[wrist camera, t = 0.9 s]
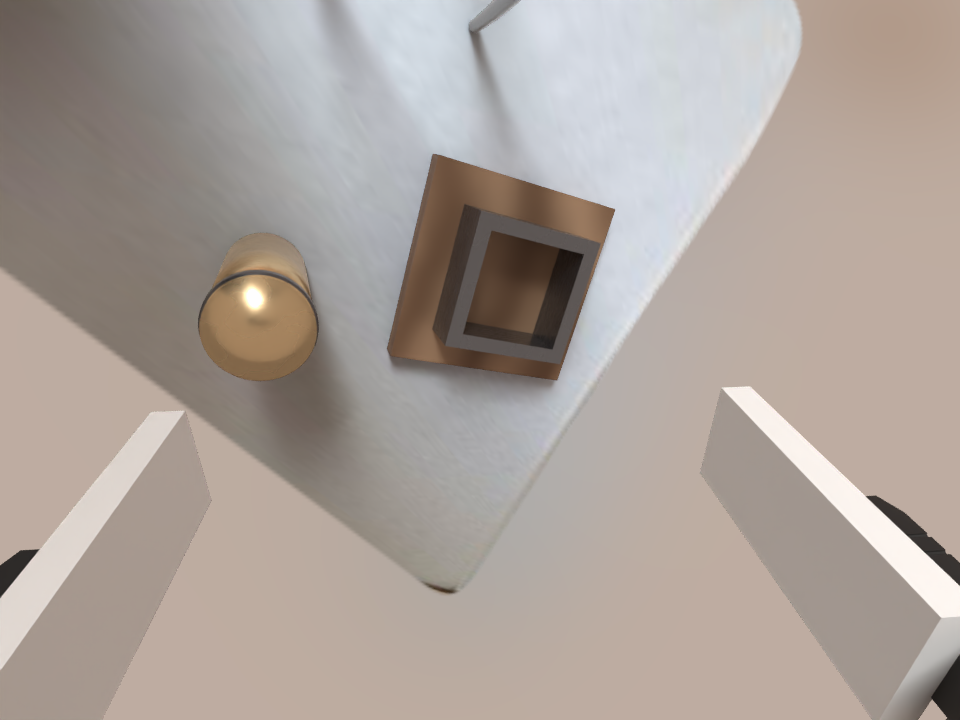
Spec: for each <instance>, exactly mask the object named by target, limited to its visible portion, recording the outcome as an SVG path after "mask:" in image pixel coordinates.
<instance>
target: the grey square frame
mask: <svg viewBox="0 0 960 720" xmlns="http://www.w3.org/2000/svg"><path fill="white" fill-rule="evenodd" d="M491 231H496V232H500V233H504V234H507V235H511V236H515V237H519V238H523V239H527V240H530V241H534V242H538V243H542V244H546V245H550V246H553V247H557V248H560V249H559V252H558V255H557V258H556V262H555V265H554V268H553V271H552V274H551V277H550V281H549V284H548V287H547V290H546V293H545V296H544V299H543V303H542V306H541V309H540V312H539V315H538V318H537V322H536V325H535V328H534V331H533V334H532V333H526V332H521V331H515V330H510V329H504V328H499V327H493V326H488V325H482V324H477V323H471V322H466V321H467V317H468V314H469V310H470V306H471V303H472V299H473V296H474V292H475V288H476V285H477V281H478V278H479V274H480V270H481V267H482V263H483V260H484V256H485V252H486V249H487V245H488V241H489V238H490V234H491ZM600 245H601V243H599V242H596V241H593V240H590V239H587V238H584V237H581V236H579V235H575V234H572V233H568V232H565V231H561V230H557V229H554V228H550V227H546V226H543V225H539V224H536V223H532V222H528V221H525V220H521V219H517V218H514V217H510V216H507V215H503V214H499V213H496V212H492V211H489V210H485V209H481V208H478V207H474V206H470V205H467V204H464V208H463V211H462V215H461V219H460V223H459V227H458V231H457V235H456V238H455V242H454V246H453V250H452V254H451V258H450V262H449V266H448V269H447V273H446V277H445V281H444V285H443V289H442V293H441V297H440V300H439V304H438V308H437V312H436V316H435V320H434V324H433V328H432V330H433V331H434V332H435V333H436V335H437V336H438V337H439V339H440V340H441V341H442V343H443V344H444V345H445V346H449V347H455V348H461V349H468V350H474V351H480V352H486V353H493V354H499V355H505V356H511V357H518V358H524V359H530V360H536V361H543V362H549V363H555V364H560V363H561V360H562V357H563V354H564V351H565V348H566V345H567V342H568V339H569V336H570V334H571V331H572V328H573V325H574V322H575V319H576V316H577V313H578V310H579V307H580V304H581V301H582V298H583V295H584V292H585V289H586V286H587V283H588V280H589V277H590V275H591V272H592V269H593V266H594V263H595V260H596V257H597V254H598V251H599V248H600Z"/></svg>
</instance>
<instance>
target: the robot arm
mask: <svg viewBox="0 0 960 720" xmlns="http://www.w3.org/2000/svg"><path fill="white" fill-rule="evenodd" d="M700 474H701V475H702V477H703V478H704V479H705V481H706V482H707V484H708V485H709V487H710V488H711V489H712V491H713V492H714V494H715V495H716V496H717V498H718V499H719V501H720V502H721V504H722V505H723V507H724V508H725V509H726V511H727V512H728V514H729V515H730V516H731V518H732V520H733V521H734V522H735V524H736V525H737V527H738V528H739V529H740V531H741V532H742V534H743V535H744V537H745V538H746V540H747V541H748V542H749V544H750V545H751V547H752V548H753V550H754V551H755V552H756V554H757V555H758V557H759V558H760V560H761V561H762V563H763V564H764V565H765V567H766V568H767V569H768V571H769V573H770V574H771V575H772V577H773V578H774V580H775V581H776V583H777V584H778V585H779V587H780V588H781V590H782V591H783V593H784V594H785V595H786V597H787V598H788V600H789V601H790V603H791V604H792V605H793V607H794V608H795V610H796V611H797V613H798V614H799V616H800V617H801V618H802V620H803V621H804V623H805V624H806V626H807V627H808V628H809V630H810V631H811V633H812V634H813V636H814V637H815V638H816V640H817V641H818V643H819V644H820V646H821V647H822V649H823V650H824V651H825V653H826V654H827V656H828V657H829V659H830V660H831V661H832V663H833V664H834V666H835V667H836V669H837V670H838V671H839V673H840V674H841V676H842V677H843V679H844V680H845V682H846V683H847V684H848V686H849V687H850V689H851V690H852V692H853V693H854V694H855V696H856V697H857V699H858V700H859V702H860V703H861V704H862V706H863V707H864V708H865V710H866V712H867V713H868V714H869V716H870V717H871V719H872V720H918V719H919V718H920V716H921V715H922V713H923V712H924V710H925V709H926V707H927V706H928V704H929V702H930V701H931V700H932V699H933V701H934V702H935V703H936V704H937V705H938V707H939V708H940V709H941V710H942V712H943V713H944V714H945V715H946V717H947V719H946V720H960V563H959V562H958V561H957V560H956V559H955V558H954V557H953V556H952V555H950V554H946V552H945V549H944V548H943V547H942V546H941V545H939V543H937V542H936V541H935V540H934V539H933V538H932V537H928V536H927V533H926V532H925V531H924V530H923V529H922V528H921V527H920V526H918V525H917V524H916V523H915V522H914V521H913V520H912V519H911V518H910V517H909V516H908V515H907V514H905V513H904V512H903V511H901V510H899V509H897V508H895V507H894V506H892V505H891V504H889V503H887V502H886V501H884V500H882V499H881V498H879V497H877V496H864V495H863V494H862V493H861V492H860V491H859V490H858V489H857V488H856V487H855V486H854V485H853V484H852V483H851V482H850V481H849V480H848V479H847V478H846V477H845V476H843V475H842V474H841V473H840V472H839V471H838V470H837V469H836V468H835V467H834V466H833V465H832V464H831V463H830V462H829V461H828V460H827V459H826V458H825V457H823V456H822V455H821V454H820V453H819V452H818V451H817V450H816V449H815V448H814V447H813V446H812V445H811V444H810V443H809V442H808V441H807V440H805V438H803V437H802V436H801V435H800V434H799V433H798V432H797V431H796V430H795V429H794V428H793V427H792V426H791V425H790V424H789V423H787V421H786V420H785V419H783V418H782V417H781V416H780V415H779V414H778V413H777V412H776V411H775V410H774V409H773V408H772V407H771V406H770V405H769V404H768V403H767V402H765V400H763V399H762V398H761V397H760V396H759V395H758V394H757V393H756V392H755V391H754V390H753V389H752V388H751V387H728V388H721V391H720V395H719V399H718V403H717V407H716V411H715V415H714V419H713V423H712V427H711V431H710V435H709V439H708V443H707V447H706V451H705V455H704V459H703V463H702V467H701V471H700ZM211 501H212V500H211V497H210V494H209V490H208V487H207V484H206V480H205V476H204V473H203V470H202V466H201V463H200V459H199V456H198V452H197V449H196V446H195V442H194V439H193V435H192V432H191V428H190V425H189V422H188V418H187V415H186V411H164V412H151V413H150V414H149V415H148V417H147V418H146V419H145V420H144V421H143V423H142V424H141V425H140V426H139V428H138V429H137V430H136V431H135V432H134V434H133V435H132V436H131V437H130V439H129V440H128V441H127V442H126V444H125V445H124V446H123V447H122V449H121V450H120V451H119V452H118V453H117V455H116V456H115V457H114V458H113V460H112V461H111V462H110V464H109V465H108V466H107V467H106V468H105V470H104V471H103V472H102V473H101V475H100V476H99V477H98V478H97V479H96V481H95V482H94V483H93V485H92V486H91V487H90V488H89V489H88V491H87V492H86V493H85V494H84V496H83V497H82V498H81V499H80V500H79V502H78V503H77V504H76V505H75V507H74V508H73V509H72V510H71V511H70V513H69V514H68V515H67V517H66V518H65V519H64V520H63V521H62V523H61V524H60V525H59V526H58V528H57V529H56V530H55V531H54V533H53V534H52V535H51V536H50V537H49V539H48V540H47V541H46V542H45V544H44V545H43V546H42V547H41V549H38V550H23V551H22V550H21V551H19V552H18V553H16V554H15V555H14V556H12V557H11V558H10V559H8V560H7V561H6V562H4V563H3V564H2V565H0V720H102V719H103V717H104V715H105V713H106V711H107V709H108V707H109V705H110V703H111V701H112V699H113V697H114V695H115V693H116V691H117V689H118V687H119V685H120V683H121V681H122V679H123V677H124V675H125V673H126V671H127V669H128V667H129V665H130V663H131V661H132V659H133V657H134V655H135V653H136V651H137V649H138V647H139V645H140V643H141V641H142V639H143V637H144V635H145V633H146V631H147V629H148V627H149V625H150V623H151V621H152V619H153V617H154V615H155V613H156V611H157V609H158V607H159V605H160V603H161V601H162V599H163V597H164V595H165V593H166V591H167V589H168V587H169V585H170V583H171V581H172V579H173V577H174V575H175V573H176V571H177V569H178V567H179V565H180V563H181V561H182V559H183V557H184V555H185V553H186V551H187V549H188V547H189V545H190V543H191V541H192V539H193V537H194V535H195V533H196V531H197V529H198V527H199V525H200V523H201V521H202V519H203V517H204V514H205V513H206V511H207V509H208V507H209V505H210V503H211Z"/></svg>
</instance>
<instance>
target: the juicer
mask: <svg viewBox="0 0 960 720" xmlns="http://www.w3.org/2000/svg"><path fill="white" fill-rule="evenodd" d="M520 1H521V0H493V1H492V2H491V3H490V4H489V5H488V6H487V7H486V8H485V9H484V10H483V11H481V12H480V13H479V14H478V15H477V16H476V17H475V18H474V19H472V20H471V21H470V23H469V29H470V31H471V32H473V33H477V32H479V31H481V30H482V29H484V28H486V27H487V26H489V25H490V24H492V23H493V22H495V21H496V20H497V19H499V18H500V17H501V16H503V15H504V14H505V13H507V12H508V11H509V10H510V9H512V8H513V7H514V6H515V5H516V4H518V3H519V2H520Z"/></svg>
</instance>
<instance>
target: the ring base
mask: <svg viewBox="0 0 960 720" xmlns="http://www.w3.org/2000/svg"><path fill="white" fill-rule="evenodd" d="M464 204H467V205H470V206H474V207H478V208H481V209H485V210H489V211H492V212H496V213H499V214H503V215H507V216H510V217H514V218H517V219H521V220H525V221H528V222H532V223H536V224H539V225H543V226H546V227H550V228H554V229H557V230H561V231H565V232H568V233H572V234H575V235H579V236H581V237H584V238H587V239H590V240H593V241H596V242H599V243H601V245H600V248H599V251H598V254H597V257H596V260H595V263H594V266H593V269H592V272H591V275H590V277H589V280H588V283H587V286H586V289H585V292H584V295H583V298H582V301H581V304H580V307H579V310H578V313H577V316H576V319H575V322H574V325H573V328H572V331H571V334H570V336H569V339H568V342H567V345H566V348H565V351H564V354H563V357H562V360H561V363H560V364H555V363H549V362H543V361H536V360H530V359H524V358H518V357H511V356H505V355H499V354H493V353H486V352H480V351H474V350H468V349H461V348H455V347H449V346H445V345H444V344H443V343H442V341H441V340H440V339H439V337H438V336H437V335H436V333H435V332H434V331H433V330H432V328H433V324H434V320H435V316H436V312H437V308H438V304H439V300H440V297H441V293H442V289H443V285H444V281H445V277H446V273H447V269H448V266H449V262H450V258H451V254H452V250H453V246H454V242H455V238H456V235H457V231H458V227H459V223H460V219H461V215H462V211H463V208H464ZM614 212H615V209H613V208H609V207H606V206H603V205H600V204H596V203H593V202H590V201H587V200H583V199H580V198H577V197H574V196H570V195H567V194H564V193H561V192H557V191H554V190H551V189H548V188H545V187H541V186H538V185H535V184H532V183H528V182H525V181H522V180H519V179H515V178H512V177H509V176H506V175H502V174H499V173H496V172H493V171H489V170H486V169H483V168H480V167H477V166H473V165H470V164H467V163H464V162H460V161H457V160H454V159H451V158H447V157H444V156H441V155H437V154H433V156H432V160H431V164H430V168H429V173H428V177H427V181H426V185H425V190H424V194H423V198H422V202H421V207H420V211H419V215H418V219H417V224H416V228H415V232H414V236H413V241H412V245H411V249H410V253H409V258H408V262H407V266H406V270H405V275H404V279H403V283H402V287H401V292H400V296H399V300H398V304H397V309H396V313H395V317H394V322H393V326H392V330H391V334H390V339H389V343H388V347H387V350H388V352H389V354H390V356H394V357H400V358H407V359H414V360H421V361H428V362H435V363H442V364H448V365H455V366H462V367H469V368H476V369H483V370H490V371H496V372H503V373H510V374H517V375H524V376H531V377H538V378H544V379H551V380H557V379H558V376H559V373H560V370H561V368H562V365H563V362H564V359H565V356H566V353H567V350H568V347H569V344H570V341H571V338H572V335H573V332H574V329H575V326H576V323H577V321H578V318H579V315H580V312H581V309H582V306H583V303H584V300H585V297H586V294H587V291H588V288H589V285H590V282H591V279H592V276H593V274H594V271H595V268H596V265H597V262H598V259H599V256H600V253H601V250H602V247H603V244H604V241H605V238H606V235H607V232H608V229H609V227H610V224H611V221H612V218H613V215H614ZM559 249H560V248H557V247H553V246H550V245H546V244H542V243H538V242H534V241H530V240H527V239H523V238H519V237H515V236H511V235H507V234H504V233H500V232H496V231H491V234H490V238H489V241H488V245H487V249H486V252H485V256H484V260H483V263H482V267H481V270H480V274H479V278H478V281H477V285H476V288H475V292H474V296H473V299H472V303H471V306H470V310H469V314H468V317H467V321H466V322H471V323H477V324H482V325H488V326H493V327H499V328H504V329H510V330H515V331H521V332H526V333H532V334H533V331H534V328H535V325H536V322H537V318H538V315H539V312H540V309H541V306H542V303H543V299H544V296H545V293H546V290H547V287H548V284H549V281H550V277H551V274H552V271H553V268H554V265H555V262H556V258H557V255H558V252H559Z"/></svg>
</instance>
